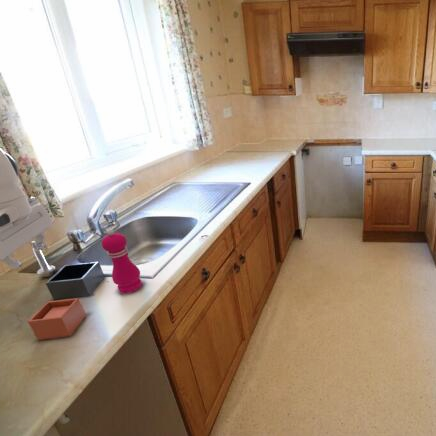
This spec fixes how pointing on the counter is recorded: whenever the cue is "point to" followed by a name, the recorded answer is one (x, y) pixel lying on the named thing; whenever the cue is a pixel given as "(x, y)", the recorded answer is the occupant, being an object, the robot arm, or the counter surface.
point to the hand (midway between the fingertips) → (30, 257)
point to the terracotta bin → (57, 319)
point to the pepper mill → (121, 263)
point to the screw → (42, 262)
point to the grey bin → (75, 280)
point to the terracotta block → (56, 312)
